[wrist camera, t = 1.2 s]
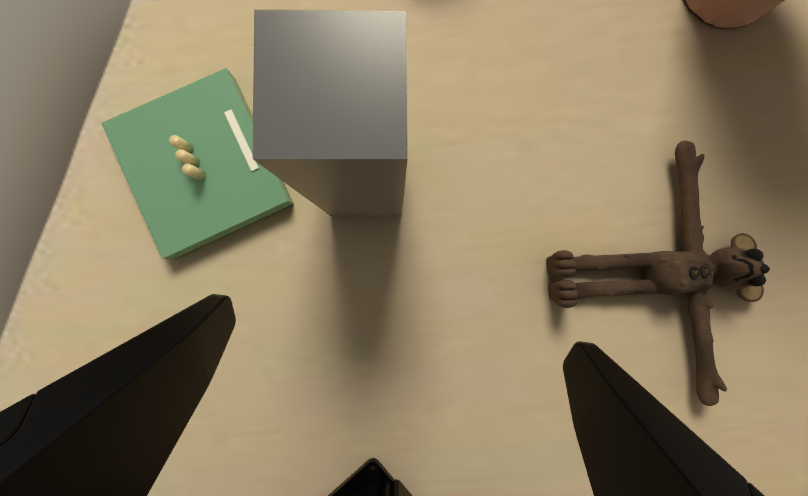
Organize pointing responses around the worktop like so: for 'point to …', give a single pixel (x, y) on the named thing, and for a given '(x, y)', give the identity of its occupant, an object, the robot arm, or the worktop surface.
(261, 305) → the worktop surface
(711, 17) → the ice cream cone
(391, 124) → the grey rectangular block
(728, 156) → the worktop surface
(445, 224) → the worktop surface
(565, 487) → the worktop surface
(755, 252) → the brown clay figure
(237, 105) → the header board
